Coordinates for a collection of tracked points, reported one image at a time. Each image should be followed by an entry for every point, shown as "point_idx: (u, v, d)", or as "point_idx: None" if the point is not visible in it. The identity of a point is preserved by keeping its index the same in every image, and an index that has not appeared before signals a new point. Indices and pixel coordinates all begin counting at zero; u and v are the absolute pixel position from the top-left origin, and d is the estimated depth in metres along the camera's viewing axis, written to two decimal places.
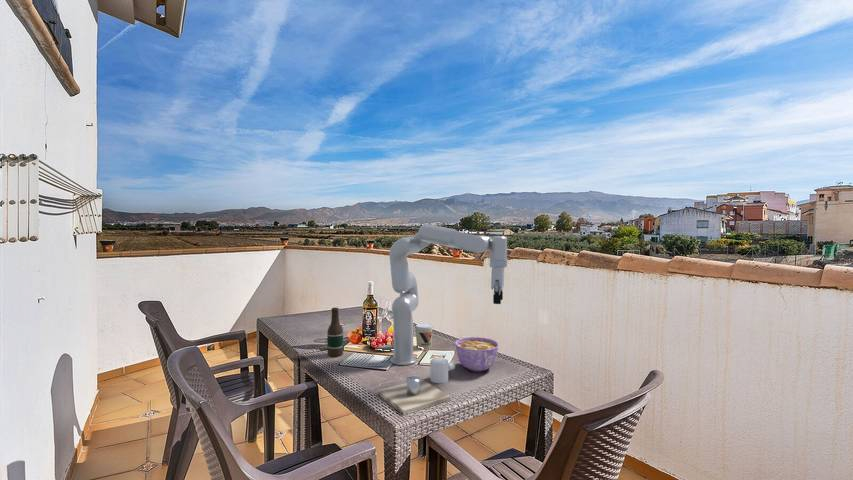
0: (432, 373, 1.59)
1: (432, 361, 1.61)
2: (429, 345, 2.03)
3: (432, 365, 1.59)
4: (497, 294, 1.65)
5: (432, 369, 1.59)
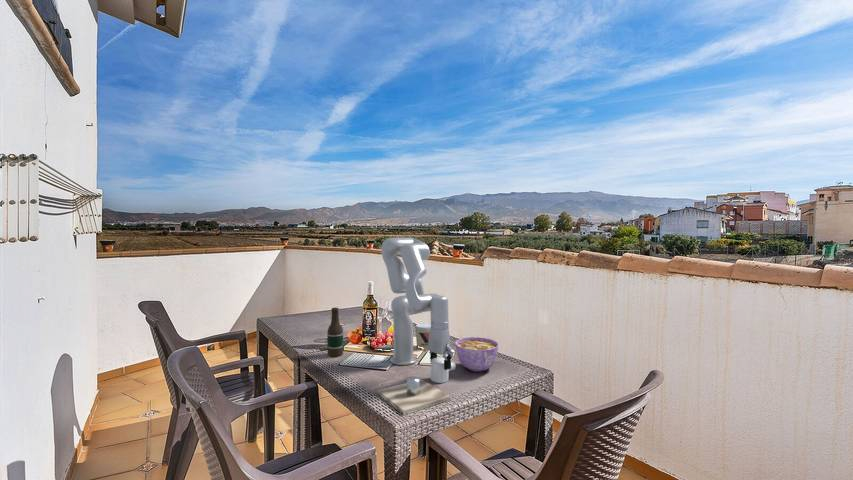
0: (433, 372, 1.59)
1: (433, 360, 1.61)
2: None
3: (433, 364, 1.59)
4: (449, 359, 1.56)
5: (433, 368, 1.59)
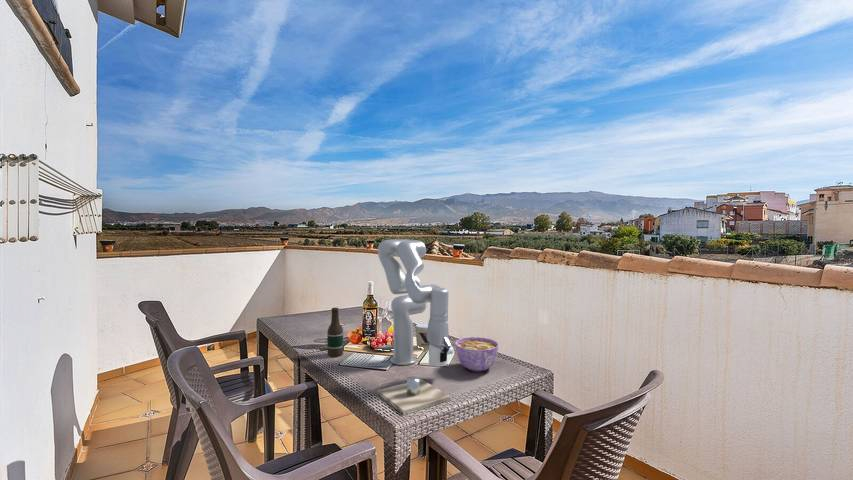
0: (431, 356, 1.60)
1: (431, 345, 1.62)
2: None
3: (431, 349, 1.60)
4: (446, 352, 1.58)
5: (431, 352, 1.60)
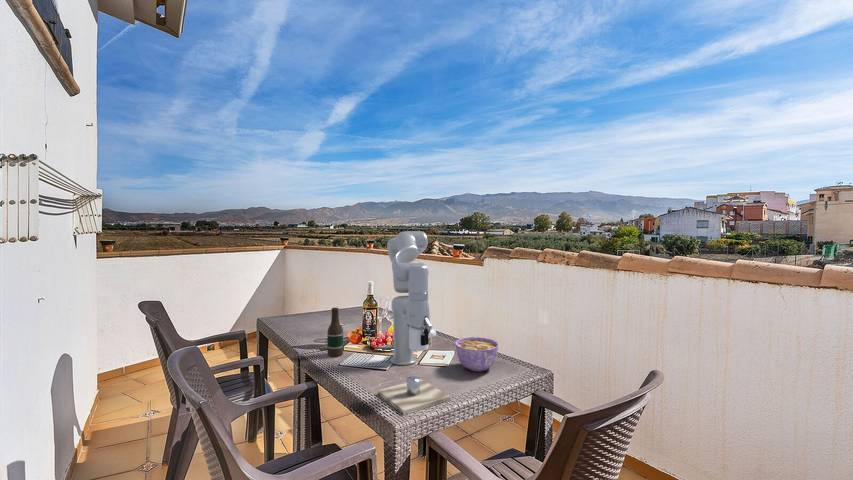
0: (411, 340, 1.45)
1: (411, 327, 1.47)
2: (429, 345, 2.03)
3: (411, 331, 1.45)
4: (427, 334, 1.43)
5: (411, 336, 1.45)
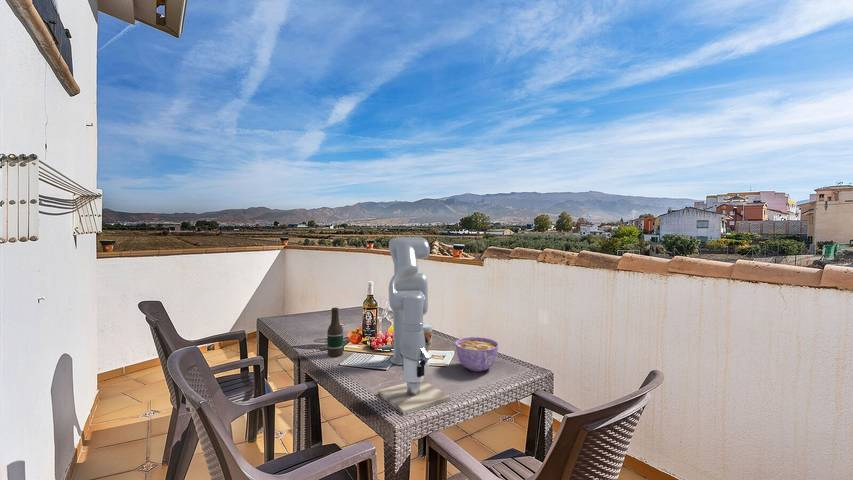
0: (406, 372, 1.42)
1: (406, 358, 1.44)
2: (429, 345, 2.03)
3: (406, 363, 1.42)
4: (423, 365, 1.41)
5: (406, 367, 1.42)
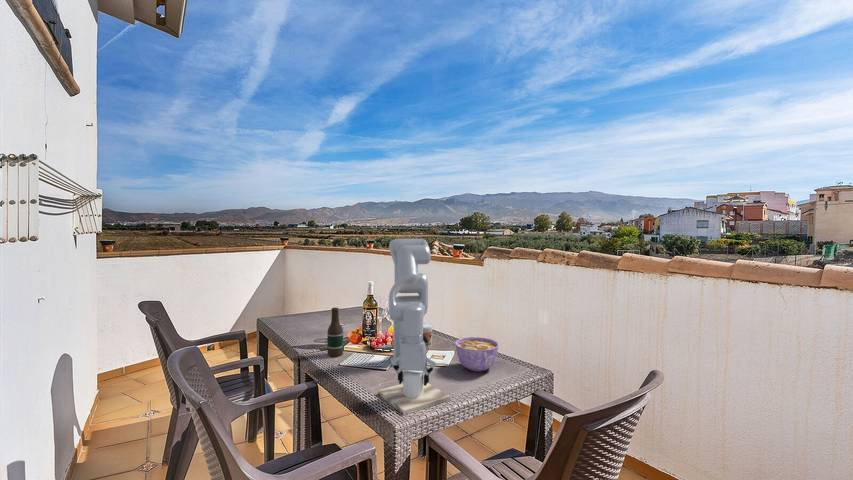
0: (411, 387, 1.42)
1: (408, 374, 1.43)
2: (429, 345, 2.03)
3: (411, 378, 1.41)
4: None
5: (411, 383, 1.41)
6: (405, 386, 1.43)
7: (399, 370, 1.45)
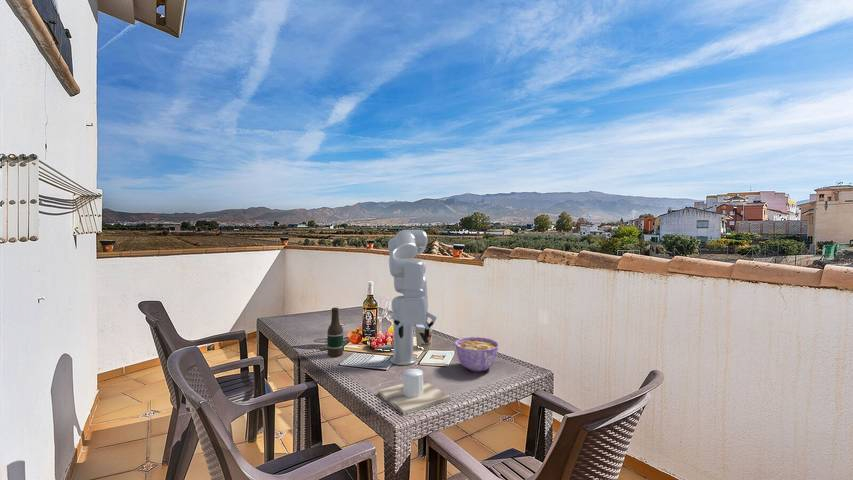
0: (411, 387, 1.42)
1: (408, 374, 1.43)
2: (429, 345, 2.03)
3: (411, 378, 1.41)
4: None
5: (411, 383, 1.41)
6: (405, 386, 1.43)
7: (400, 325, 1.45)
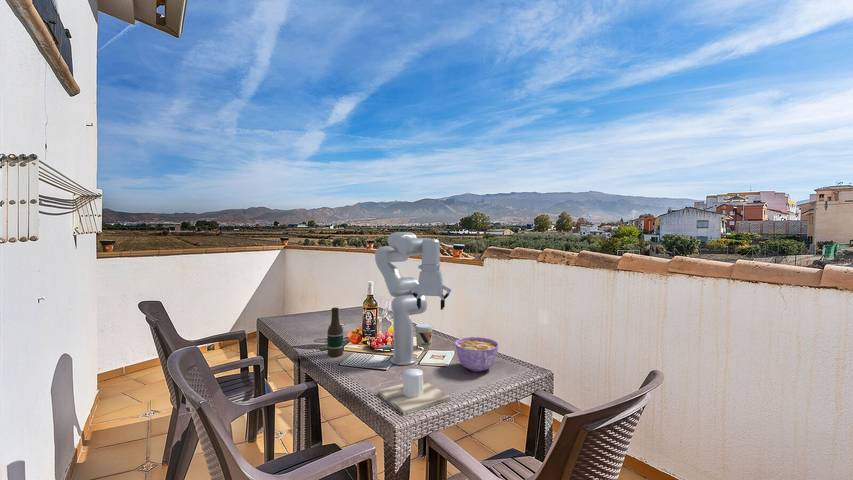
0: (411, 387, 1.42)
1: (408, 374, 1.43)
2: (429, 345, 2.03)
3: (411, 378, 1.41)
4: (445, 298, 1.60)
5: (411, 383, 1.41)
6: (405, 386, 1.43)
7: (418, 296, 1.60)
